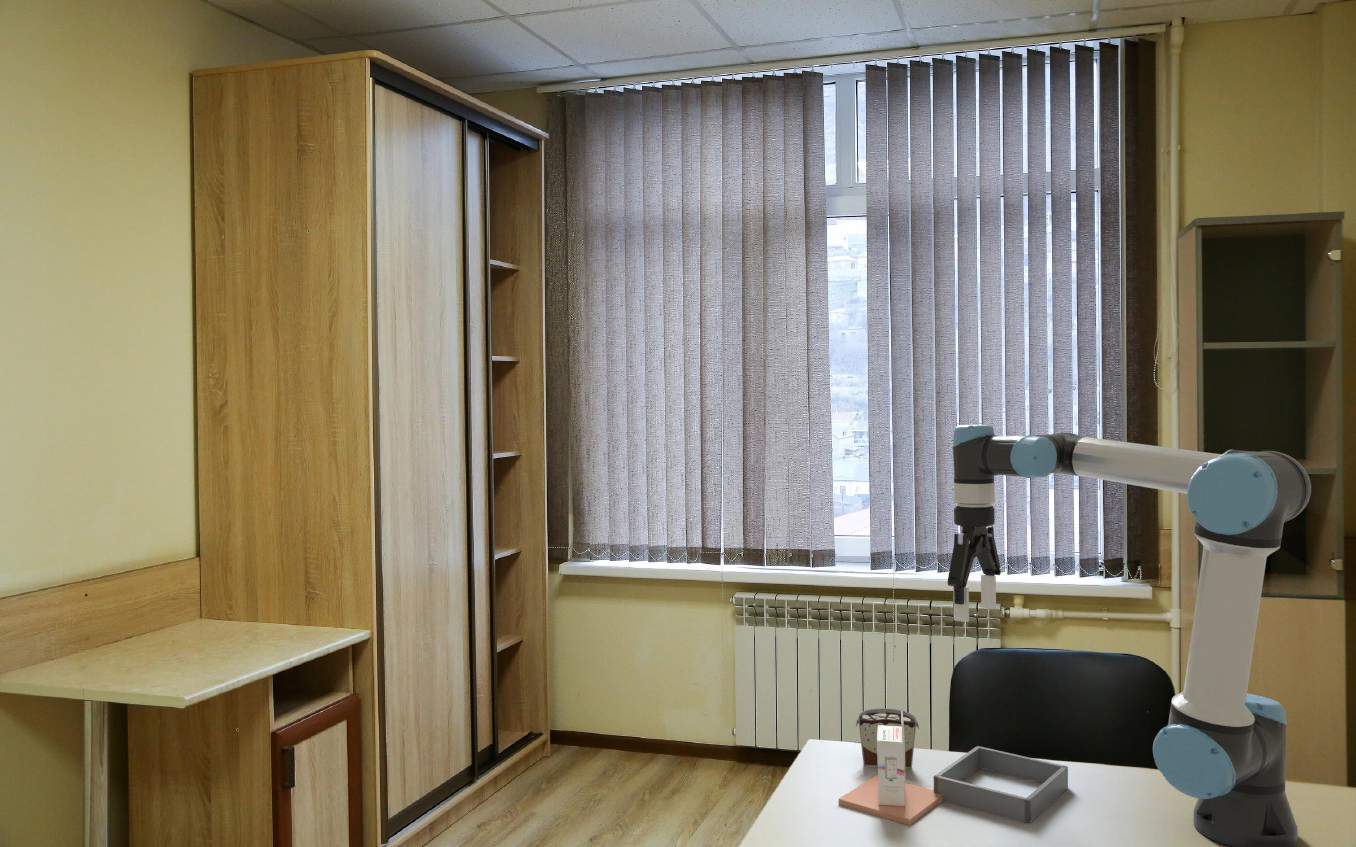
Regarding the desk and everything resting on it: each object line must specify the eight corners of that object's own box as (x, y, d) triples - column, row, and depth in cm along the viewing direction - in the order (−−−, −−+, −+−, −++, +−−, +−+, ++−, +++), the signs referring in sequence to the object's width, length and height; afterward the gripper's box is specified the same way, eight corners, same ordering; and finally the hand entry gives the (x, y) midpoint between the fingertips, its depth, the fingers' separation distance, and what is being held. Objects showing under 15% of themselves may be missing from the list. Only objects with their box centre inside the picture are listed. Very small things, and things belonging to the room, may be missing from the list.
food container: (917, 757, 200) (917, 708, 200) (919, 768, 194) (919, 718, 194) (856, 754, 202) (855, 706, 202) (856, 765, 196) (855, 715, 196)
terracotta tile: (944, 798, 180) (944, 793, 180) (909, 824, 169) (909, 819, 169) (876, 780, 189) (876, 774, 189) (838, 803, 178) (838, 798, 178)
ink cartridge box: (877, 786, 183) (876, 708, 183) (904, 787, 182) (904, 709, 182) (877, 805, 175) (876, 723, 174) (905, 807, 174) (905, 724, 173)
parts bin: (1067, 787, 184) (1067, 766, 184) (1029, 823, 169) (1029, 800, 169) (977, 765, 195) (977, 745, 195) (933, 797, 180) (933, 775, 180)
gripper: (979, 497, 201) (981, 600, 202) (928, 510, 182) (929, 623, 183) (1016, 499, 197) (1017, 605, 197) (967, 512, 177) (968, 629, 178)
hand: (975, 614), depth 190 cm, fingers open, 13 cm apart
